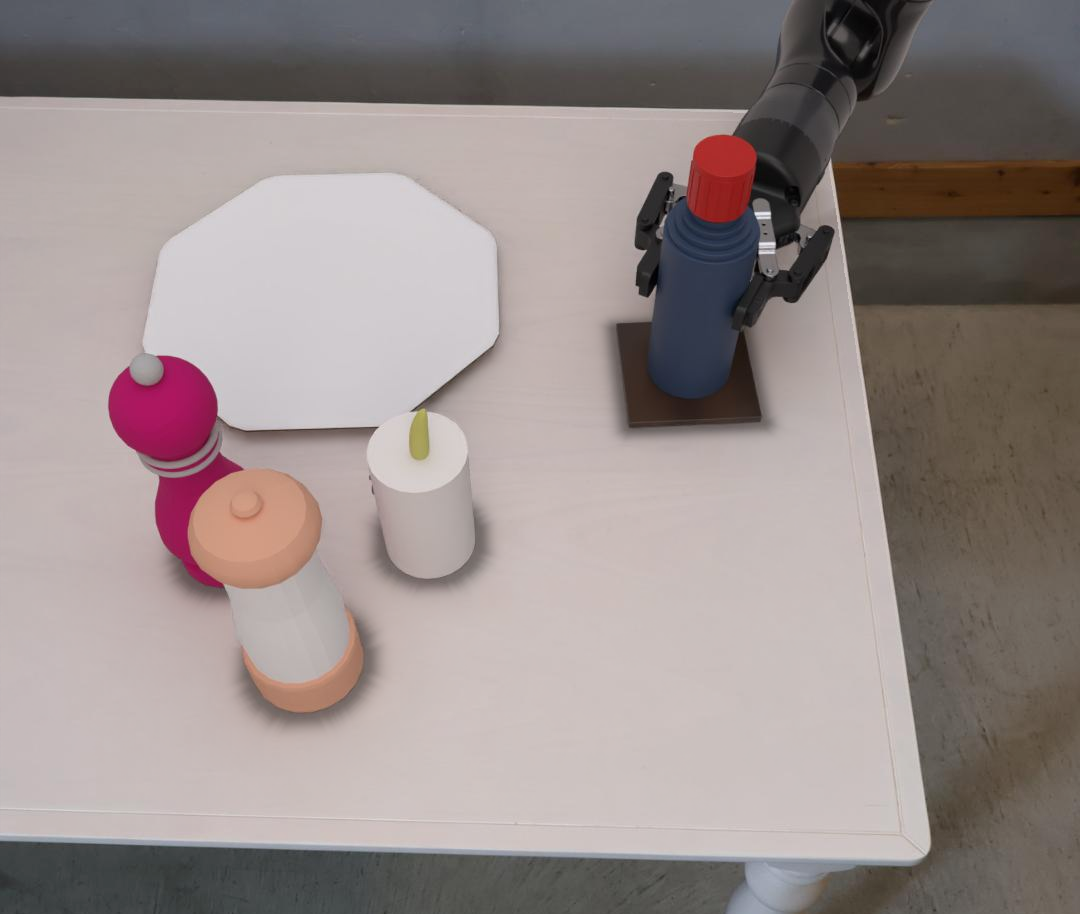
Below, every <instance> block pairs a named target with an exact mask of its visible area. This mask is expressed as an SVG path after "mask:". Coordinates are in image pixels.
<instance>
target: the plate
mask: <svg viewBox="0 0 1080 914" xmlns="http://www.w3.org/2000/svg"><path fill="white" fill-rule="evenodd" d="M498 275H499V273H498V242H497V240H496V239H495V237H494V235H493V234H492V232H491V231H490V230H488V229H487V228H485V227H484V226H482V225H481V224H479V223H478V222H476V221H475V220H473V219H472V218H470V217H469V216H467V215H466V214H464V213H463V212H461V211H459V210H458V209H457V208H455V207H453V206H452V205H451V204H449V203H447V202H446V201H445V200H444V199H442V198H441V197H438V196H437V195H435V194H434V193H432V191H429V190H428V189H427V188H425V187H423V186H422V185H421V184H419V183H418V182H416V181H415V180H413V179H412V178H411V177H409V176H407V175H403V174H400V173H395V172H362V173H326V174H325V173H324V174H323V173H322V174H320V173H319V174H318V173H317V174H280V175H279V174H277V175H273V176H270V177H267V178H263V179H260V181H258V182H256V183H255V184H253V185H251V186H249V188H247V189H246V190H244V191H242V192H241V193H239V194H237V195H236V196H234V197H233V198H231V199H230V200H228V201H226V202H225V203H223V204H222V205H221V206H219V207H217V208H216V209H214V210H212V211H210V213H208V214H206V215H204V216H203V217H202V218H200V219H198V220H197V221H195V222H194V223H193V224H191V225H189V226H188V227H186V228H185V229H183V230H182V231H180V232H178V233H176V234H175V235H174V236H172V237H171V238H169V239H167V241H166V242H165V243H164V245H163V246H162V248H160V249H159V254H158V259H157V264H156V269H155V273H154V279H153V284H152V290H151V294H150V299H149V300H150V301H149V305H148V312H147V315H146V320H145V325H144V331H143V337H142V341H141V344H142V347H143V350H144V353H148V354H153V355H154V356H158V355H164V356H173V357H178V358H181V359H184V360H186V361H188V362H190V363H192V364H193V365H195V366H196V367H197V368H199V369H200V370H201V371H202V372H203V373H204V374H205V376H206V377H207V378H208V380H209V381H210V383H211V384H212V386H213V389H214V391H215V393H216V397H217V401H218V414H217V418H218V419H220V420H221V421H222V422H223V423H224V424H226V425H227V426H228V427H229V428H231V429H234V430H237V431H241V432H244V433H261V432H262V433H263V432H295V431H296V432H297V431H299V432H300V431H328V430H329V431H331V430H334V431H335V430H364V429H365V430H366V429H378V428H379V427H380V426H381V425H382V424H383V423H384V422H386V421H387V420H389V419H391V418H393V417H394V416H397V415H400V414H403V413H407V412H415V410H416V409H418V408H419V407H420V406H421V405H423V404H424V403H425V402H426V401H428V400H429V399H430V398H431V397H433V396H434V395H435V394H436V393H438V392H439V391H440V390H441V389H443V388H444V387H445V386H446V385H448V384H449V383H450V382H451V381H453V380H454V379H455V378H457V377H458V376H459V375H460V374H462V372H464V371H465V370H466V369H468V368H469V367H470V366H471V365H472V364H474V363H475V362H476V361H478V360H479V359H480V358H481V357H482V356H484V355H485V354H487V353H488V352H489V351H490V350H491V349H492V348H494V346H495V344H496V343H497V340H498V338H499V336H500V318H499V317H500V313H499V309H500V307H499V280H498V279H499V277H498Z"/></svg>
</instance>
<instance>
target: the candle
mask: <svg viewBox="0 0 1080 914" xmlns="http://www.w3.org/2000/svg"><path fill="white" fill-rule="evenodd" d="M469 459H470V458H469V447H468V440H467V438H466V436H465V433H464V432H463V430H462V429H461V428H460V427H459V425H458V424H457V423H456V422H454V421H453V420H451V419H450V418H448V417H447V416H445V415H443V414H439V413H436V412H433V411H427V410H426V409H425V408H421V409H419V410H417V411H415V410H414V411H412V412H407V413H403V414H400V415H397V416H394V417H393V418H391V419H389V420H387V421H386V422H384V423H383V424H382V425H381V426H380V427H379V428H376V429H375V431H374V432H373V434H372V435H371V437H370V438H369V441H368V444H367V447H366V462H367V467H368V471H369V472H368V473H369V475H368V480H369V481H370V482H371V494H372V495H373V496H374V499H375V503H376V507H377V512H378V516H379V517H378V518H379V521H380V522H379V523H380V527H381V530H382V531H381V532H382V535H383V540H384V545H385V549H386V552H387V555H388V557H389V559H390V560H391V562H392V563H393V564H394V565H395V567H396V568H397V569H399V570H400V571H401V572H402V573H404V574H407V575H409V576H411V577H414V578H416V579H417V578H418V579H424V580H425V579H427V580H429V579H439V578H442V577H446V576H449V575H452V574H453V573H454V572H457V571H458V570H460V569H461V568H462V567H463V566H464V565H465V564H467V562H468V561H469V559H470V558H471V557H472V554H473V552H474V550H475V545H476V528H475V517H474V505H473V495H472V494H473V493H472V482H471V470H470V460H469Z"/></svg>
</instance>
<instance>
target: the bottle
mask: <svg viewBox="0 0 1080 914" xmlns="http://www.w3.org/2000/svg"><path fill="white" fill-rule="evenodd" d="M663 226H664V229H663V237H662V245H661V254H660V262H659V270H658V278H657V285H656V286H655V293H654V303H653V311H652V318H651V322H652V326H651V334H650V342H649V350H648V358H647V370H648V373H649V376H650V378H651V379H652V381H653V382H654V384H655V385H656V386H657V387H658V388H660V389H661V390H662V391H664V392H666V393H668V394H670V395H672V396H675V397H679V398H684V399H698V398H703V397H707V396H710V395H712V394H714V393H715V392H717V391H718V390H720V389H721V388H722V387H723V386H724V385H725V383H726V382H727V380H728V377H729V374H730V369H731V365H732V361H733V356H734V352H735V347H736V343H737V338H738V334H739V331H737V330H734V329H731V327H732V323H733V318H734V314H735V310H736V308H737V306H738V304H739V302H740V300H741V298H742V296H743V295H744V293H745V291H746V289H747V288H748V286H749V284H750V282H751V280H752V279H751V276H752V271H753V267H754V263H755V258H756V254H757V249H758V245H759V240H760V233H761V232H760V226H759V223H758V221H757V218H756V216H755V214H754V212H753V211H752V209H751V208H750V207H749V206H748V205H747V208H746V210H745V212H744V213H743V214H742V215H741V216H740V217H739V218H737V219H735V220H733V221H729V222H723V223H714V222H709V221H706V220H703V219H701V218H699V217H698V216H696V215H695V214H694V213H693V212H692V211H691V210H690V208H689V207H688V204H687V197H686V198H684V199H682V200H681V201H679V202H678V203H677V204H676V205H675V206H674V207H673V208H672V210H671V211H670V212H669V213H668V215H666V217H665V220H664V223H663Z"/></svg>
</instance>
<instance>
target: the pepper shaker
mask: <svg viewBox="0 0 1080 914" xmlns="http://www.w3.org/2000/svg"><path fill="white" fill-rule="evenodd" d="M322 527H323V516H322V512H321V510H320V505H319V502H318V501H317V499H316V498H315V496H314V495H313V494H312V493H311V492H310V490H309V488H307V487H306V486H305V484H303V483H302V482H301V481H299V480H298V479H296V478H295V477H293V476H291V475H290V474H288V473H286V472H285V473H284V472H281V471H277V470H274V469H269V468H245V469H244V470H242V471H238V472H234V473H231V474H229V475H227V476H225V477H223V478H222V479H220V480H218V481H216V482H215V483H214V484H213V485H212V486H211V487H210V488H209V489H208V490H206V491H205V492H204V493H203V494H202V496H201V497H200V498H199V500H198V502H197V503H196V505H195V507H194V509H193V510H192V512H191V515H190V521H189V526H188V541H189V546H190V551H191V555H192V557H193V558H194V560H195V561H196V562H197V564H198V565H199V567H200V568H201V570H203V571H204V572H206V573H207V574H209V575H210V576H211V577H213V578H214V579H216V580H217V581H219V582H221V583H223V585H224V587H223V588H224V589H225V591H226V594H227V596H228V598H229V604H230V611H231V617H232V623H233V628H234V632H235V635H236V637H237V639H238V641H239V642H240V644H241V647H240V649H241V652H242V653H241V654H242V658H243V662H244V665H245V667H246V669H247V671H248V673H249V675H250V677H251V679H252V680H253V683H254V684H255V686H256V688H257V689H258V691H259V692H260V694H261V695H262V697H263V698H264V699H265V700H266V701H268V702H269V703H270V704H272V705H273V706H275V707H276V708H278V709H281V710H284V711H287V712H290V713H314V712H317V711H321V710H324V709H327V708H330V707H332V706H333V705H335V704H336V703H338V702H339V701H341V700H342V699H344V698H345V697H346V696H347V695H348V694H349V693H350V691H352V689H353V688H354V687H355V686H356V685H357V682H358V680H359V678H360V675H361V674H362V672H363V668H364V656H365V655H364V654H365V652H364V648H363V645H362V642H361V637H360V635H359V631H358V628H357V625H356V622H355V618H354V616H353V613H352V612H351V611H350V609H349V608H348V606H346V604H345V602H344V599H343V596H342V592H341V589H340V587H339V585H338V584H337V583H336V581H335V580H334V578H333V577H332V575H331V574H330V572H329V571H328V570H327V568H326V566H325V565H324V564H323V562H322V561H321V557H320V554H319V552H318V549H317V547H318V545H319V543H320V540H321V537H322Z"/></svg>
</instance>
